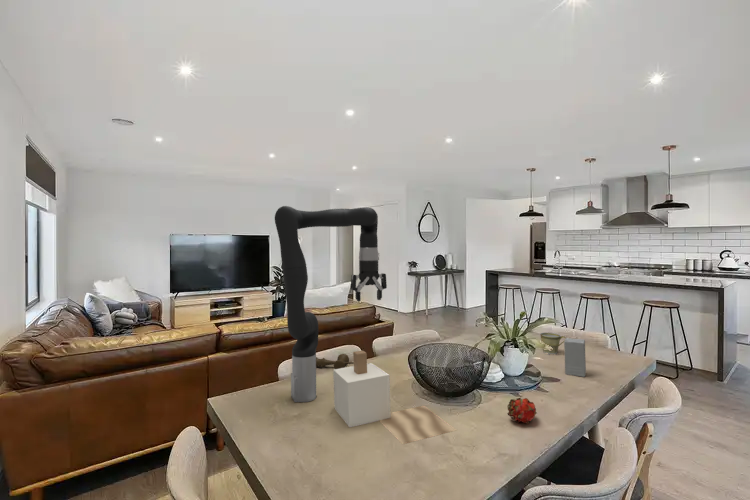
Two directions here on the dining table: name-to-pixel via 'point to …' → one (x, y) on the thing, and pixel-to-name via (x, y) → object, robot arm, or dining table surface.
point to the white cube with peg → (361, 392)
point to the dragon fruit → (521, 410)
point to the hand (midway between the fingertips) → (369, 300)
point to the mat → (415, 424)
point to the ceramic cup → (551, 341)
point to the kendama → (334, 362)
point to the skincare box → (575, 357)
